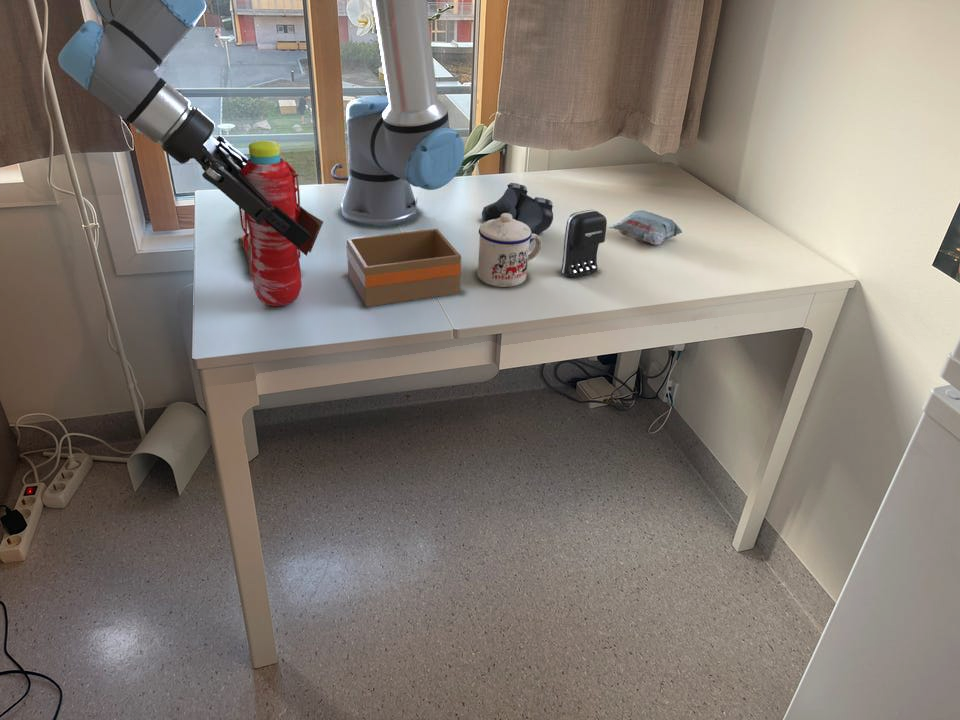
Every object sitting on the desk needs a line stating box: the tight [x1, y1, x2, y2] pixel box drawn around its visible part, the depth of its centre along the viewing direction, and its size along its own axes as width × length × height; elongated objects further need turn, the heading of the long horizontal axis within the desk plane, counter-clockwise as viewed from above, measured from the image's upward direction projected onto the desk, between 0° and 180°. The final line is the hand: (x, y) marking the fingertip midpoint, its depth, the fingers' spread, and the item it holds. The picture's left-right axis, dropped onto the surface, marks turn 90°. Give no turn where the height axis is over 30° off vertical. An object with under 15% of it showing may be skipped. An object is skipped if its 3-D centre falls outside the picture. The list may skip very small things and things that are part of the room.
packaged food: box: [609, 209, 683, 246], centre depth 149 cm, size 9×12×5 cm
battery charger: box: [560, 209, 608, 278], centre depth 132 cm, size 7×4×11 cm, turn 120°
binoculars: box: [481, 182, 554, 244], centre depth 149 cm, size 16×7×10 cm, turn 32°
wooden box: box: [345, 228, 462, 308], centre depth 126 cm, size 12×16×7 cm
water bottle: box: [238, 140, 324, 307], centre depth 115 cm, size 12×8×25 cm, turn 122°
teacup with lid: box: [477, 213, 543, 288], centre depth 130 cm, size 12×9×12 cm
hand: (303, 230), depth 116 cm, fingers closed on water bottle, 7 cm apart
